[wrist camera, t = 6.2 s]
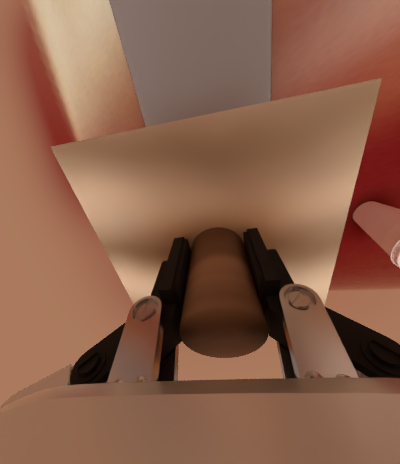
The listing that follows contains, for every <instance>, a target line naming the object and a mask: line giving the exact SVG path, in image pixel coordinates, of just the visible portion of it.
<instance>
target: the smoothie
mask: <svg viewBox="0 0 400 464" xmlns="http://www.w3.org/2000/svg"><path fill="white" fill-rule="evenodd" d="M353 220H354V221H355V222H356V223H357V224H358V225H359V226H360V227H361V228H362V229H363V230H364V231H365V232H366V233H367V234H368V235H369V236H370V237H371V238H372V239H373V240H374V241H375V242H376V243H377V244H378V245H379V246H380V247H381V248H382V249H383V250H384V251H385V252H386V253H387V254H388V255H390V256H391V260H392V262H393V264H395V265H396V266H398V267H399V268H400V209H397V208H394V207H391V206H388V205H384V204H381V203H378V202H374V201H369V202H366V203H363V204H362V205H360V206H359V207H358V208H357V209H356V210H355V211H354V213H353Z"/></svg>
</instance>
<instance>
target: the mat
mask: <svg viewBox="0 0 400 464" xmlns="http://www.w3.org/2000/svg"><path fill="white" fill-rule="evenodd" d="M109 1H110V5H111V8H112V11H113V15H114V18H115V22H116V25H117V29H118V32H119V36H120V39H121V43H122V46H123V50H124V53H125V57H126V60H127V63H128V67H129V70H130V74H131V77H132V81H133V84H134V88H135V91H136V95H137V98H138V102H139V105H140V109H141V112H142V116H143V119H144V122H145V126H146V127H149V126H154V125H158V124H163V123H168V122H173V121H178V120H183V119H187V118H192V117H197V116H202V115H207V114H211V113H216V112H221V111H226V110H231V109H235V108H240V107H245V106H250V105H255V104H259V103H264V102H269V101H271V33H272V0H109Z"/></svg>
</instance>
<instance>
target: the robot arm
mask: <svg viewBox="0 0 400 464" xmlns="http://www.w3.org/2000/svg"><path fill="white" fill-rule="evenodd" d="M243 237H244V247H245V251H246V254H247V258H248V261H249V265H250V268H251V272H252V275H253V279H254V282H255V286H256V289H257V293H258V296H259V300H260V303H261V306H262V309H263V313H264V316H265V320H266V323H267V327H268V332H269V336H271V337H272V338H273V339H275V340H276V341H277V347H278V352H279V358H280V363H281V368H282V373H283V379H237V380H196V381H195V380H194V381H178V353H179V352H178V351H179V346H178V344H179V343H180V342H181V341H182V340H181V338H180V334H179V329H180V322H181V316H182V309H183V302H184V295H185V289H186V282H187V275H188V268H189V262H190V255H191V249H190V245H189V241H188V239H185V238H184V237H179V238H174V241H173V244H172V247H171V250H170V253H169V257H168V260H167V261H163V262H162V264H161V267H160V270H159V272H158V275H157V278H156V281H155V284H154V287H153V290H152V293H151V296H146V297H143V298H141V299H139V300H138V301H137V302H136V303H134V305H133V306H132V307H131V309H130V311H129V314H128V317H127V320H126V323H124V324H123V325H121V326H120V327H119V328H118V329H116V330H115V331H114V332H112V333H111V334H109V335H108V336H107V337H106V338H104V339H103V340H102V341H100V342H99V343H98V344H96V345H95V346H94V347H92V348H91V349H89V350H88V351H87V352H86V353H84V355H82V356H81V357H80V358H79V360H78V361H77V362H76V363H75V365H74V366H72V365H71V364H70V365H68V366H66V367H65V368H63V369H61V370H59V371H57V372H55V373H53V374H51V375H49V376H47V377H46V378H44V379H42V380H40V381H38V382H36V383H34V384H32V385H30V386H28V387H26V388H24V389H23V390H21V391H19V392H17V393H16V394H14V395H13V396H11V397H10V398H9V399H8V400H7V401H6V402H5V403H4V404H3V405H2V406H1V407H0V464H400V345H399V344H398V343H397V342H395V341H393V340H391V339H390V338H388V337H386V336H384V335H382V334H380V333H378V332H376V331H374V330H372V329H369V328H368V327H365V326H363V325H361V324H359V323H357V322H355V321H353V320H351V319H349V318H347V317H345V316H343V315H341V314H339V313H337V312H335V311H333V310H331V309H328V308H326V307H324V305H323V302H322V300H321V298H320V297H319V295H318V294H317V293H316V292H315V291H314V290H313V289H311V288H309V287H307V286H305V285H301V284H294V282H293V280H292V278H291V276H290V274H289V273H288V271H287V269H286V267H285V265H284V263H283V261H282V259H281V258H280V256H279V254H278V252H277V250H276V249H268V250H267V248H266V246H265V244H264V242H263V240H262V237H261V235H260V233H259V231H258V229H257V228H251V229H247V232H243Z"/></svg>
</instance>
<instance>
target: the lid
mask: <svg viewBox="0 0 400 464" xmlns="http://www.w3.org/2000/svg"><path fill="white" fill-rule="evenodd" d="M381 80H382V78H380V79H375V80H370V81H365V82H360V83H356V84H351V85H346V86H341V87H336V88H332V89H327V90H322V91H317V92H312V93H308V94H303V95H298V96H293V97H288V98H284V99H279V100H274V101H269V102H264V103H259V104H255V105H250V106H245V107H240V108H235V109H231V110H226V111H221V112H216V113H211V114H207V115H202V116H197V117H192V118H187V119H183V120H178V121H173V122H168V123H163V124H158V125H154V126H149V127H144V128H139V129H134V130H130V131H125V132H120V133H115V134H110V135H106V136H101V137H96V138H91V139H86V140H82V141H77V142H72V143H67V144H62V145H57V146H53V147H51V149H52V151H53V153H54V155H55V156H56V158H57V160H58V162H59V164H60V166H61V168H62V170H63V172H64V174H65V175H66V177H67V179H68V181H69V183H70V185H71V187H72V188H73V190H74V192H75V194H76V196H77V198H78V200H79V202H80V203H81V205H82V207H83V209H84V211H85V213H86V215H87V217H88V219H89V221H90V222H91V224H92V226H93V228H94V230H95V232H96V234H97V236H98V237H99V239H100V241H101V243H102V245H103V247H104V249H105V251H106V252H107V255H108V256H109V258H110V260H111V262H112V263H113V266H114V268H115V270H116V271H117V273H118V275H119V277H120V279H121V281H122V283H123V285H124V287H125V288H126V290H127V292H128V294H129V296H130V298H131V300H132V302H133V303H136V302H137V301H138V300H139V299H141V298H143V297H146V296H151V293H152V290H153V287H154V284H155V281H156V278H157V275H158V272H159V270H160V267H161V264H162V262H163V261H167V260H168V257H169V253H170V250H171V247H172V244H173V241H174V238H179V237H184V238H185V239H188V241H189V245H190V249H191V255H190V262H189V268H188V275H187V282H186V289H185V295H184V302H183V309H182V316H181V322H180V329H179V334H180V338H181V340H182V341H183V343H184V344H185V345H186V346H187V347H189V348H190V349H191V350H193V351H195V352H197V353H200V354H202V355H206V356H210V357H217V358H232V357H239V356H243V355H246V354H249V353H251V352H253V351H256V350H257V349H259V348H260V347H261V346H262V345H263V344H264V343H265V342H266V340H267V338H268V333H269V332H268V327H267V323H266V320H265V316H264V313H263V309H262V306H261V303H260V300H259V296H258V293H257V289H256V286H255V282H254V279H253V275H252V272H251V268H250V265H249V261H248V258H247V254H246V251H245V247H244V237H243V232H247V229H251V228H257V229H258V231H259V233H260V235H261V237H262V240H263V242H264V244H265V246H266V248H267V250H268V249H276V250H277V252H278V254H279V256H280V258H281V259H282V261H283V263H284V265H285V267H286V269H287V271H288V273H289V274H290V276H291V278H292V280H293V282H294V284H301V285H305V286H307V287H309V288H311V289H313V290H314V291H315V292H316V293H317V294H318V295H319V297H320V298H321V300H322V302H323V305H325V301H326V297H327V294H328V290H329V286H330V282H331V278H332V274H333V270H334V266H335V262H336V258H337V254H338V250H339V246H340V242H341V238H342V234H343V230H344V226H345V222H346V218H347V214H348V210H349V207H350V203H351V199H352V195H353V191H354V187H355V183H356V179H357V175H358V171H359V167H360V163H361V159H362V155H363V151H364V147H365V143H366V139H367V135H368V131H369V127H370V123H371V119H372V116H373V112H374V108H375V104H376V100H377V96H378V92H379V88H380V84H381Z"/></svg>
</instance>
